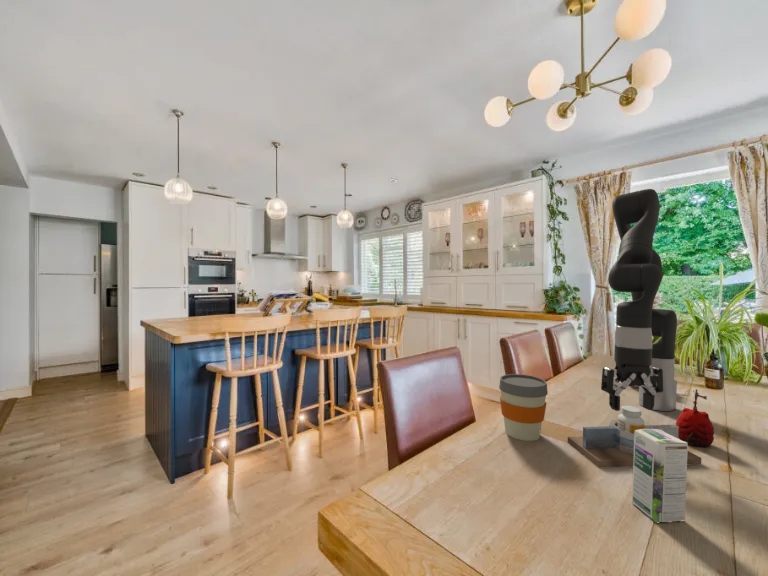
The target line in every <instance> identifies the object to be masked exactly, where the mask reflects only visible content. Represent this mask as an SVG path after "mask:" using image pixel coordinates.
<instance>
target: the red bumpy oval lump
mask: <svg viewBox="0 0 768 576" xmlns="http://www.w3.org/2000/svg"><path fill="white" fill-rule="evenodd" d="M692 391H693V393H694V401H693V407H692V409H690V408H689V407H684V408H683V409H682V412H681V413H680V414H679V416H678V417H677V418H676V422H675V425H676V426H678V427H679V428H678V439H680V440H682V441H685V442H687V443H688V445H691V446H694V447H699V448H708V447H710V446H711V445H712V444H713V443H714V440H715V437H714V435H715V430H714V429H715V428H714V425H713V423H712V421H711V419H710V417H709V413H707V412H706V411H700V410H698V407H697V404H698V402H697V401H698V398H702V399H703V400H706V401H707V400H708V399H707V397H708V396H707V395H701V394H699V392H698V391H699V390H698V389H695V390H694V389H693V390H692Z"/></svg>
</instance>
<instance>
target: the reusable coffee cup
mask: <svg viewBox="0 0 768 576" xmlns="http://www.w3.org/2000/svg"><path fill="white" fill-rule="evenodd" d="M499 390H500V396H499V403H500V410H501V414H502V416H503V423H504V424H503V425H504V430H505V431H504V432H505V433H506V435H508V436H509V437H511V438H514V439H517V440H520V441H526V442H527V441H529V442H531V441H536V440H538V439H539V438H540V436H541V430H542V425H543V424H542V423H543V421H544V420H545V416H546V408H547V402H546V400H547V399H546V396H548V393H549V392H548V384H547V381H546V380H545V379H543V378H540V377H537V376H533V375H529V374H521V373H510V374H508V373H507V374H504V375H502V376H500V377H499Z"/></svg>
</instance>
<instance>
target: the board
mask: <svg viewBox="0 0 768 576" xmlns="http://www.w3.org/2000/svg"><path fill="white" fill-rule="evenodd" d="M567 444H569V445H570V446H571V447H572V448H574V449H575V450H576V451H578V452H579V453H580V454H582V455H583V456H584V457H585V458H587V459H588V460H589V461H590V462H591V463H593V464H594V465H595V466H597V467H598V468H625V466H630V467H633V464H634V455H633V454H629V453H626V452H622V451H619V450H618V449H616V448H612V449H585V448H584V447H583V435H582V436H567ZM687 464H692V465H702V457H700V456H699V455H697V454H695V453H693V452H691V451H689V450H688V454H687Z"/></svg>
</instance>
